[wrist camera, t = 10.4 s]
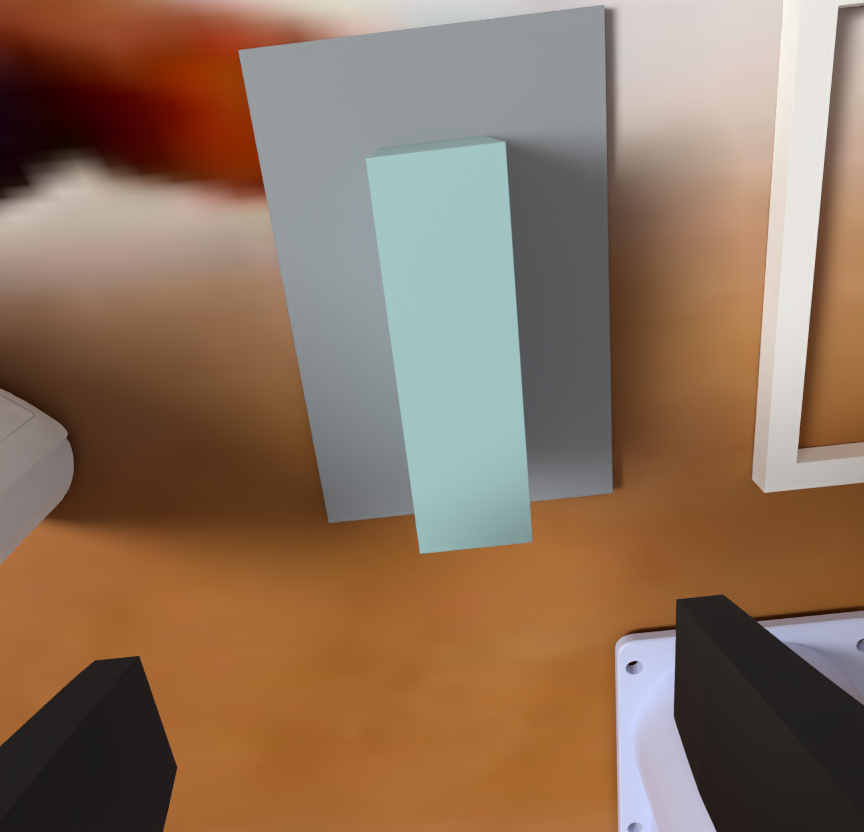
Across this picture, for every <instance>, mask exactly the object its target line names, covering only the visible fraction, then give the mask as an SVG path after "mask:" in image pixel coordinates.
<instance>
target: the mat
mask: <svg viewBox="0 0 864 832" xmlns="http://www.w3.org/2000/svg"><path fill="white" fill-rule="evenodd" d="M238 51H239V56H240V61H241V67H242V72H243V77H244V82H245V88H246V93H247V98H248V103H249V109H250V114H251V119H252V124H253V129H254V135H255V140H256V145H257V150H258V156H259V161H260V166H261V171H262V176H263V182H264V187H265V192H266V197H267V203H268V208H269V213H270V218H271V224H272V229H273V234H274V239H275V244H276V250H277V255H278V260H279V265H280V271H281V276H282V281H283V286H284V291H285V297H286V302H287V307H288V312H289V318H290V323H291V328H292V333H293V339H294V344H295V349H296V354H297V359H298V365H299V370H300V375H301V380H302V386H303V391H304V396H305V401H306V406H307V412H308V417H309V422H310V427H311V433H312V438H313V443H314V448H315V454H316V459H317V464H318V469H319V474H320V480H321V485H322V490H323V495H324V501H325V506H326V511H327V516H328V521H329V523H335V522H344V521H353V520H363V519H372V518H382V517H391V516H401V515H410V514H415V513H414V506H413V498H412V491H411V484H410V477H409V469H408V462H407V455H406V448H405V440H404V433H403V426H402V419H401V411H400V404H399V397H398V390H397V382H396V375H395V368H394V361H393V353H392V346H391V339H390V332H389V324H388V317H387V310H386V303H385V295H384V288H383V281H382V274H381V266H380V259H379V252H378V245H377V237H376V230H375V223H374V216H373V208H372V201H371V194H370V187H369V179H368V172H367V165H366V158H367V157H368V156H369V155H371V154H372V153H373V152H374V151H376V150H377V149H378V148H382V147H391V146H399V145H408V144H416V143H424V142H433V141H441V140H450V139H458V138H466V137H475V136H487V137H490V138H494V139H497V140H501V141H505V143H506V158H507V173H508V188H509V202H510V217H511V232H512V247H513V262H514V277H515V291H516V306H517V321H518V336H519V351H520V365H521V380H522V395H523V410H524V425H525V440H526V454H527V469H528V484H529V499H530V502H533V501H543V500H552V499H562V498H571V497H581V496H590V495H600V494H609V493H613V479H612V420H611V362H610V304H609V246H608V188H607V130H606V72H605V14H604V5H600V6H592V7H584V8H576V9H568V10H560V11H551V12H543V13H535V14H527V15H519V16H511V17H503V18H495V19H487V20H479V21H471V22H462V23H454V24H446V25H438V26H430V27H422V28H414V29H406V30H398V31H390V32H382V33H373V34H365V35H357V36H349V37H341V38H333V39H325V40H317V41H309V42H301V43H292V44H284V45H276V46H268V47H260V48H252V49H244V50H238Z"/></svg>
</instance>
